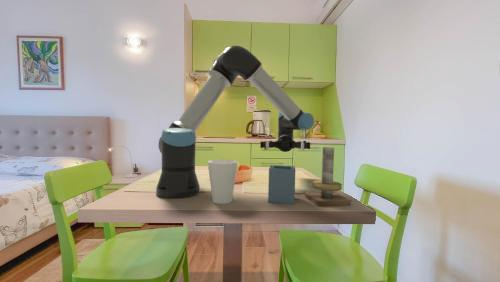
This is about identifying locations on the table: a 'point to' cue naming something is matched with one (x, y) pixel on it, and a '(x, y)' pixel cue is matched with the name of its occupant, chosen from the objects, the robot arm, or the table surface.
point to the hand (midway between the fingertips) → (284, 146)
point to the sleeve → (281, 184)
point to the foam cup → (222, 180)
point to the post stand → (327, 184)
